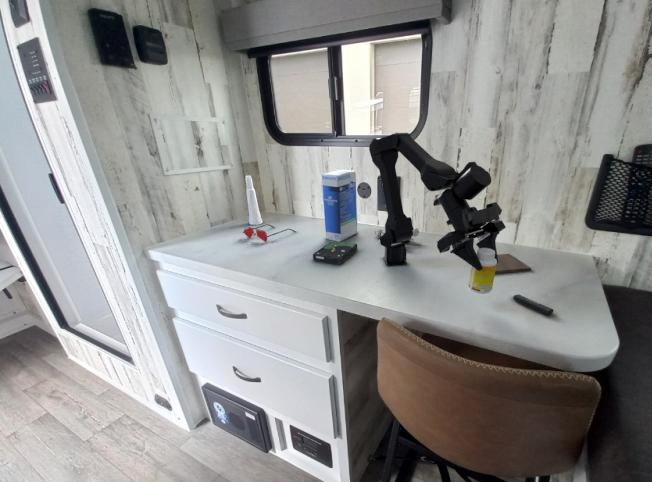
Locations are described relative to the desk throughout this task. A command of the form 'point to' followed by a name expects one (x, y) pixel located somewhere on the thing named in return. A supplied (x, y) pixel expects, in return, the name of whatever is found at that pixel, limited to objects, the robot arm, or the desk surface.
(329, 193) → the string lights box
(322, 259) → the disk drive
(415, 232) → the clip-on lamp
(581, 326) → the desk surface
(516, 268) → the walnut board
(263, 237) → the glasses
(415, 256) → the desk surface
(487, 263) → the supplement bottle
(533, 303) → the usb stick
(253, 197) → the cosmetic bottle
